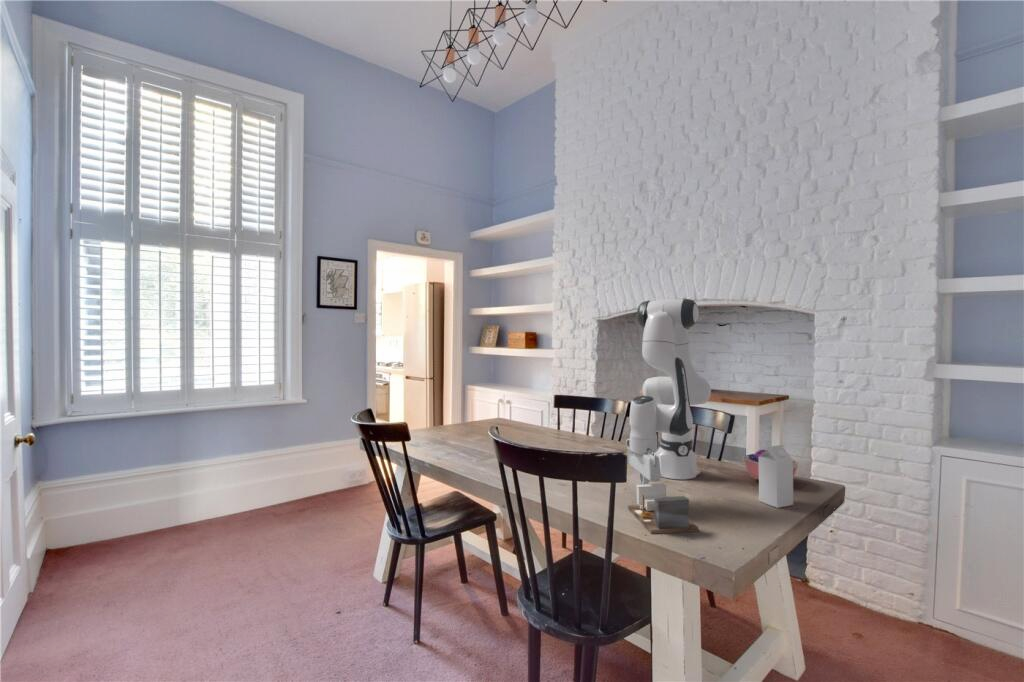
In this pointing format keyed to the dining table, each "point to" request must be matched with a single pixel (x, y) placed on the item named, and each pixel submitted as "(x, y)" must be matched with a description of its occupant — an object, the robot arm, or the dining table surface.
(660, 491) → the white bent piece
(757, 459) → the cell model
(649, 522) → the gauge base
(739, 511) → the dining table surface
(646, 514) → the peak needle
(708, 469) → the dining table surface
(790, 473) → the milk carton
